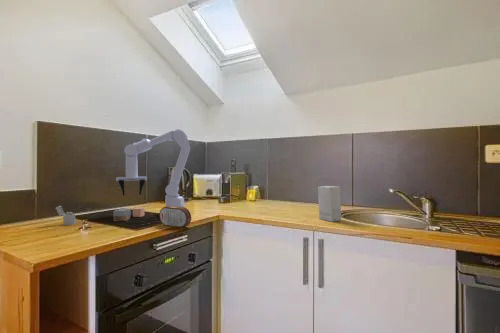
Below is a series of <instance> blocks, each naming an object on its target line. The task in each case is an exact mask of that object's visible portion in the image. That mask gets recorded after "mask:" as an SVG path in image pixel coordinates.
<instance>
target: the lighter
mask: <svg viewBox="0 0 500 333" xmlns="http://www.w3.org/2000/svg"><path fill="white" fill-rule="evenodd" d="M55 210H56V211H57V215H59V217H62V220H63V222H62V223H63V226H69V225H70V226H75V225H76V214H75V213H73V212H72V211H66V213H65V212H64V210H63V208H62V205H59V206H56V207H55Z"/></svg>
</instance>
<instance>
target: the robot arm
mask: <svg viewBox="0 0 500 333" xmlns="http://www.w3.org/2000/svg"><path fill="white" fill-rule="evenodd" d="M166 141H170V142H174V141H175V142H176V143H177V144H178V146H179V148H180V152H179V155H178V158H177V160H176V163H175V167H174V169H173V173H172V175H171V179H170V181H169V183H168V185H166V187H165V190H164V191H165V194H166V195H165V197H164V198H165V199H164V200H165V202H164V203H165V206H164V207H166V206H179V207H185V198H184V196H180V194H179V190H180V187H179V186H180V182H181V178H182V175H183V172H184V169H185V166H186V163H187V160H188V157H189V155H190V151H191V144H190V142H189V139H188V136H187V134H186V133H185V132H184V130H183V129H180V128H179V129H175V130H172V131H171V130H170V131H168V132H166V133H163V134H160V135H159V136H156V137H154V138H151V139H148V138H141V140H140V141H138V142H133V143H132V144H127V145H125V147H124V149H123V152H124V154H125V176H118V177H116V178H115V181H116V182H118V184H119V186H120V189H121V192H122V196H125V195H126V194H125V182H129V181H131V182H132V181H138V182H139V183H138V185H139V191H138V194H139V195H142V190H143V188H144V187H143V186H144V184H145V182H146V181H147V180H148V177H147V176H139V174H138V173H139V171H138V168H139V167H138V163H139V162H138V160H139V159H138V156H139V154H142V153H145V152H147V151H149V150H152V149H153V147H154V146H155V145H158V144H161V143H164V142H166Z"/></svg>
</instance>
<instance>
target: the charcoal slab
mask: <svg viewBox="0 0 500 333" xmlns="http://www.w3.org/2000/svg"><path fill="white" fill-rule="evenodd" d="M112 212H113V217H114V216H120V217H124V216H128V215H130V216H131V214H132V213H131V212H132V209H131V208H129V209H128V208H119V209H116V210H113V211H112Z"/></svg>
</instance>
